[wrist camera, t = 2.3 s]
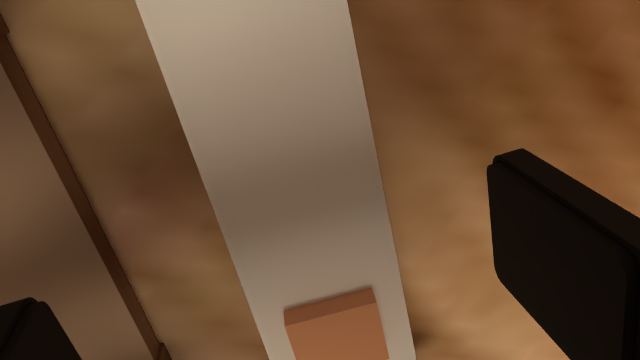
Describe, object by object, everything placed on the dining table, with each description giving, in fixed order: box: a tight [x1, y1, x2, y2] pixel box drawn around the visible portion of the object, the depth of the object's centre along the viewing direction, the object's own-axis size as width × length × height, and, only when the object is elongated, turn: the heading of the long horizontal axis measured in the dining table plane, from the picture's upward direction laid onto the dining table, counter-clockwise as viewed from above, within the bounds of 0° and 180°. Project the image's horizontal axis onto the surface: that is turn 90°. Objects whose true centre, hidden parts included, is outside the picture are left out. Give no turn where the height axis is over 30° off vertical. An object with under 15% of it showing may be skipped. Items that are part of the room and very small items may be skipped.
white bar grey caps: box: [135, 0, 416, 360], centre depth 14 cm, size 21×6×6 cm, turn 13°
